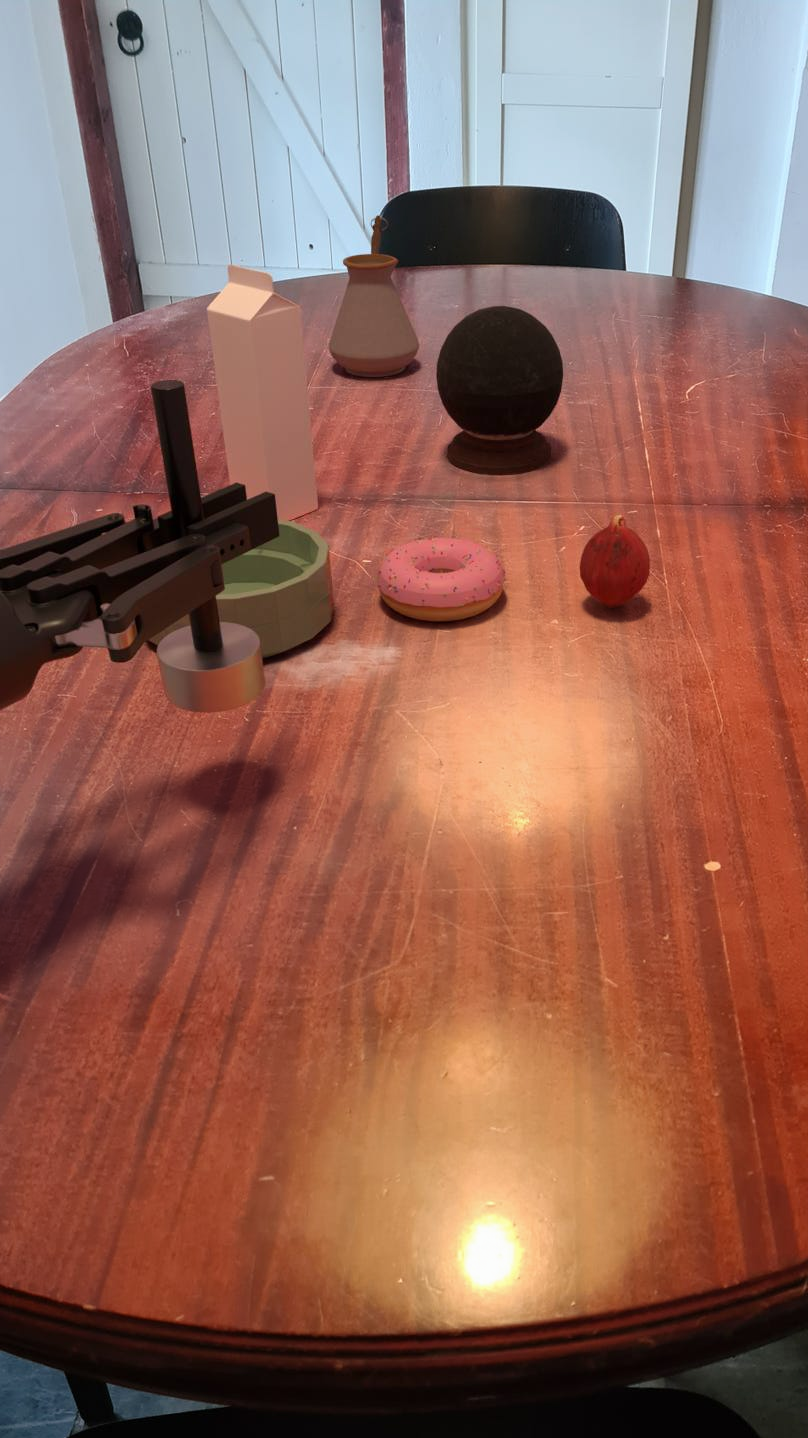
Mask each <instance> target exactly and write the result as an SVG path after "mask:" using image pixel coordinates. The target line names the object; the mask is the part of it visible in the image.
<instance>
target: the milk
mask: <svg viewBox="0 0 808 1438" xmlns="http://www.w3.org/2000/svg"><path fill="white" fill-rule="evenodd" d="M227 276H228V277H227V278H228V283H227V284H226V285H225V286H224V288H222V290H221V291H220V292H219V293H218V294H217V296H215V298H214V299H213V300H212V302H210V304H209V305H208V306H207V307H206V314H207V315H206V316H207V323H208V324H207V325H208V331H209V336H210V337H209V338H210V346H211V352H212V361H213V368H214V375H215V383H216V390H217V397H218V398H217V399H218V405H219V406H218V407H219V413H220V422H221V429H222V435H223V443H224V444H223V445H224V452H225V458H226V465H227V473H228V479H229V486H230V485H232V484H234V483H236V482H237V483H240V484H243V485H245V487H246V495H247V500H248V499H250V498H252V497H255V496H257V495H259V494H261V493H264V492H269V493H273V494H275V499H276V508H277V517H278V519H279V520H285V521H292V520H295V519H297V518H299V517H302V516H304V515H307V514H310V513H313V512H314V511H317V510H318V509H319V501H318V499H319V498H318V489H317V488H318V487H317V479H316V467H315V455H314V445H313V433H312V432H313V431H312V423H311V409H310V400H309V399H310V398H309V388H308V377H307V365H306V355H305V354H306V353H305V345H304V343H305V341H304V332H303V322H302V321H303V320H302V310H301V306H300V305H298V304H296V303H294V302H293V301H290V300H289V299H287V298H285V297H283V296H282V295H279V294H277V293H276V292H275V289H274V280H273V276H272V274H271V273H269V272H265V271H261V270H256V269H252V268H247V267H243V266H239V265H234V264H228V265H227Z"/></svg>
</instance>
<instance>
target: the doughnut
mask: <svg viewBox="0 0 808 1438" xmlns="http://www.w3.org/2000/svg"><path fill="white" fill-rule="evenodd" d="M498 557H499V555H496V554H495V553H494V552H493V551H492V549H491V547H489V548H487V546H484V545H483V544H480V543H477V542H475V541H472V540H468V539H464V538H463V539H462V538H457V537H456V536H454V537H437V536H436V535H434V536H433V537H431V536H430V537H428V538H425V537H423V538H422V539H421V538H420V537H418V539H416V540H413V541H409V542H406V543H403V544H402V545H399V546H398V547H396V548H394V549H391V550H390V551H389V552H388V553H385V557H384V558H383V559H382V561H378V564H379V567H378V570H377V575H375V576H374V578H376V584H377V588H378V590H379V591H378V592H379V595H380V596H381V598H382V600H383V601H384V603H385V604H386V605H387V606H389V607H390V608H391V609H392V610H393V611H395V612H397V613H398V614H400V615H402V616H405V617H408V618H411V619H415V620H420V621H425V622H426V621H427V622H452V621H460V620H464V619H468V618H471V617H474V616H477V615H479V614H481V613H483V612H485V611H486V610H488V609H489V608H490V607H492V606H493V605H494V604H495V603H496V602H497V601H498V599H499V598H500V596H501V594H502V592H503V588H504V584H505V581H507V579H506V570H504V564H503V563H501V560H500V558H498Z"/></svg>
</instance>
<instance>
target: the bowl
mask: <svg viewBox="0 0 808 1438" xmlns="http://www.w3.org/2000/svg"><path fill="white" fill-rule="evenodd" d="M278 526H279V535H280V536H279V537H277V538H275V539H273V540H271V541H269V542H267V543H265V544H262V545H260V546H258V547H256V548H254V549H252V550H250V551H248V552H246V553H244V554H242V555H240V556H238V557H236V558H234V559H232V560H230V561H228V562H226V563H224V564H222V571H223V578H224V585H225V590H224V591H222V592H221V593H219V594H218V595H216V600H217V607H218V614H219V620H220V622H228V623H235V624H239V625H242V626H245V627H248V628H250V629H251V630H253V631H254V632H255V633H256V634H257V635H258V637H259V639H260V646H261V653H262V659H265V658H268V657H274V656H276V655H279V654H282V653H284V652H287V651H290V650H293V649H294V648H296V647H298V646H300V645H301V644H303V643H306V642H308V641H310V640H312V639H314V638H315V636H317V635H318V634H319V633H320V632H321V631H322V630H323V629H324V628H325V627H327V625H329V623H331V621H332V617H333V616H332V615H333V610H334V607H335V602H334V590H333V580H332V579H333V578H332V568H331V556H330V555H331V554H330V546H329V544H328V543H327V542H326V541H325V539H324V538H323V537H322V536H321V534H320V533H319V532H318V531H316V530H314V529H311V528H309V527H307V526H305V525H303V524H300V523H297V522H295V521H292V520H290V521H285V520H279V519H278ZM186 626H190V620H189V614H187V615H186V616H184V617H183V618H181V619H179V620H178V621H176V622H175V623H173V624H172V625H170V626H169V627H167V628H166V629H164V630H163V631H161V632H160V633H158V634H156V635H155V636H153V637H152V638H150V639H149V640H148V641H149V642H150V643H152V644H154V645H155V646H157V647H158V645H159V643H160V642H161V640H162V639H163V638H165V637H166V636H167V635H169V634H170V633H172V632H174V631H176V630H178V629H181V628H183V627H186Z"/></svg>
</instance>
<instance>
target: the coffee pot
mask: <svg viewBox="0 0 808 1438" xmlns="http://www.w3.org/2000/svg"><path fill="white" fill-rule="evenodd" d="M370 220H371V221H370V223H369V224H370V227H371V229H372V231H373V232H372V235H371V237H370V240H371V241H370V253H362V254H355V255H350V256H347V257H345V258H343V259H342V264H343V266H344V267H346V270H347V273H348V278H349V279H348V282H347V285H346V287H345V291H344V295H343V298H342V301H341V304H340V307H339V310H338V314H337V316H336V319H335V323H334V325H333V326H334V327H333V329H332V333H331V336H330V338H329V341H328V350H329V353H330V355H331V356H332V358H333V359H334V360H335V361H336V362H337V364H338V365H339V366H341V367H343V368H344V370H345V371H346V373H348V374H350V375H353V376H356V377H363V378H383V377H390V376H393V375H397V374H400V373H402V372H404V371H405V370H406V366H408V365H409V364H411V362H412V361H413V360H414V359H415V357H416V356H417V354H418V352H419V348H420V342H419V339H418V337H417V334H416V332H415V330H414V327H413V325H412V322H411V321H410V318H409V316H408V313H407V311H406V308H405V307H404V304H403V302H402V300H401V298H400V295H399V293H398V291H397V288H396V285H395V284H394V282H393V279H392V274H393V273H394V270H395V269H396V266H397V264H398V263H399V260H398V258H396V257H394V256H393V255H392V256H391V255H388V254H383V253H382V254H380V249H381V243H382V237H381V236H382V235H381V232H382V231H385V230H386V229H387V228H388V226H389V223H388V221H387V219H386V218H384V217H381V216H380V215H375V217H374V218H373V219H370ZM382 220H383V221H384V222H385V223H386V225H385V227H384V228H383V226H382V225H381V224H382ZM373 221H374V222H373ZM372 223H374V224H372Z"/></svg>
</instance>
